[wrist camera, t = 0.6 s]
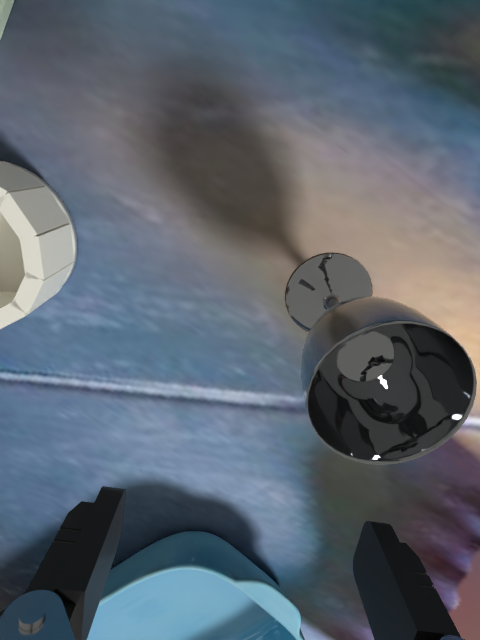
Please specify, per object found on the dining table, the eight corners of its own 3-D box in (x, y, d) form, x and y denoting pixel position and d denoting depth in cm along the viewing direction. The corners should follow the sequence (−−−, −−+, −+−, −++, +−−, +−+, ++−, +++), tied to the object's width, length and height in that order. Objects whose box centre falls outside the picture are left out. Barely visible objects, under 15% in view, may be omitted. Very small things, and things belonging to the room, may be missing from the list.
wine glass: (287, 243, 31) (322, 314, 17) (387, 253, 31) (501, 330, 17) (274, 335, 34) (295, 458, 20) (366, 343, 34) (448, 471, 20)
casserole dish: (212, 478, 41) (207, 541, 34) (337, 590, 47) (352, 661, 41) (-7, 621, 50) (-45, 692, 43) (122, 698, 56) (106, 770, 50)
